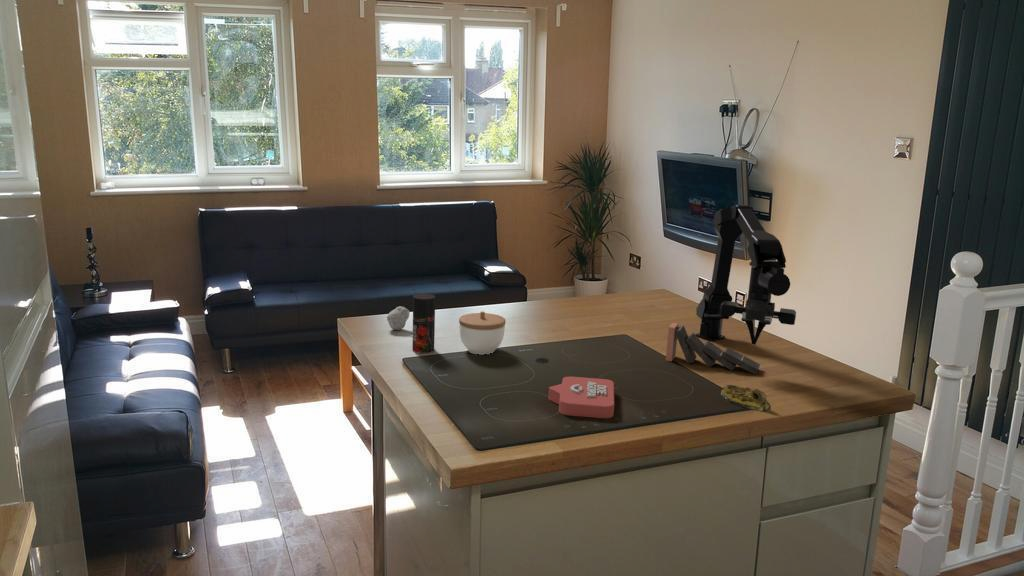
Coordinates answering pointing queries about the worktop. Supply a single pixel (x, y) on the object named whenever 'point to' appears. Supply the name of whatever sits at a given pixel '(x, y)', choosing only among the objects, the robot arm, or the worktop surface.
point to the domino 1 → (671, 342)
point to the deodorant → (423, 323)
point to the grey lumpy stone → (398, 318)
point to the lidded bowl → (481, 332)
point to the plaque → (584, 397)
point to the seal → (746, 397)
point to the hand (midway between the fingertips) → (753, 344)
